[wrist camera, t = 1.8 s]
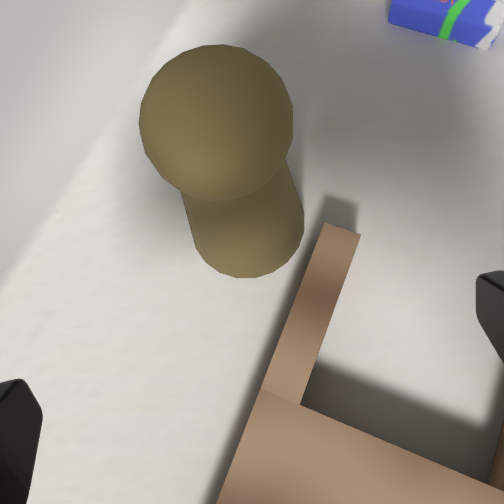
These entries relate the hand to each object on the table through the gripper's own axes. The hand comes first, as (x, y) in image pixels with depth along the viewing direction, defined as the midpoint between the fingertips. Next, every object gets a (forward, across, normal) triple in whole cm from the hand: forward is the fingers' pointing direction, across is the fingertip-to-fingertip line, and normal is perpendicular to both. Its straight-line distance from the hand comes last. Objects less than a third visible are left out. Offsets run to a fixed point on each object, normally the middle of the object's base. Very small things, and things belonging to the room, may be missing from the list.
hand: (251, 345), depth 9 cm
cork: (+16, 0, +4) cm, 16 cm away
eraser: (+22, -14, -2) cm, 26 cm away
